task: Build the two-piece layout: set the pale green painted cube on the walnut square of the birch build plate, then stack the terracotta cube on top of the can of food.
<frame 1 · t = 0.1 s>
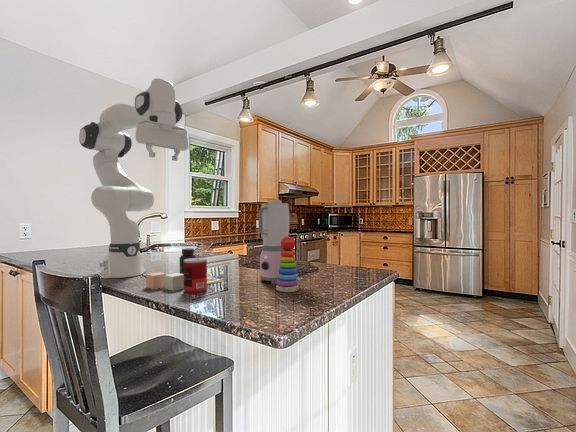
hand: (163, 158, 120), 48 cm above the countertop, tool pointing down, fingers open, 8 cm apart
block a: (156, 287, 115), on the countertop
blender: (273, 282, 124), on the countertop
block b: (174, 288, 113), on the countertop
build plate: (205, 282, 123), on the countertop
canned food: (195, 291, 109), on the countertop
supplement bottle: (188, 277, 133), on the countertop
stacking toy: (287, 290, 109), on the countertop
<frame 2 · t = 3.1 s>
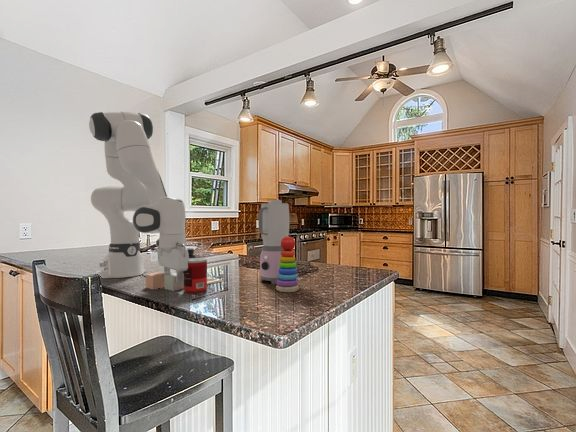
hand: (173, 280, 112), 3 cm above the countertop, tool pointing down, fingers open, 8 cm apart
nothing on the countertop moved.
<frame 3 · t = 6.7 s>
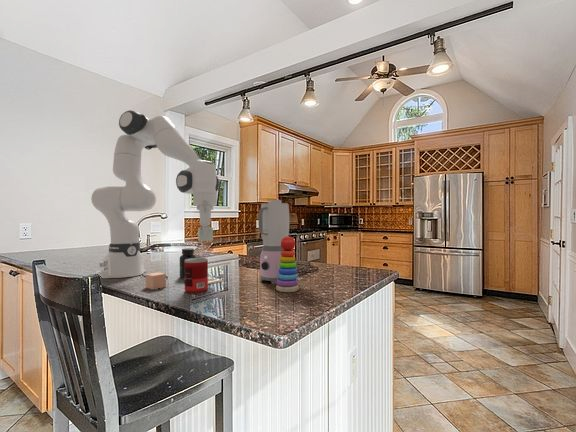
hand: (205, 236, 123), 18 cm above the countertop, tool pointing down, fingers closed on block b, 5 cm apart
block b: (205, 240, 123), point 16 cm above the countertop, touching gripper
everything else where it was.
when the fingers open (3 cm above the countertop, at t = 9.6 s): block b stays where it is, resting on build plate.
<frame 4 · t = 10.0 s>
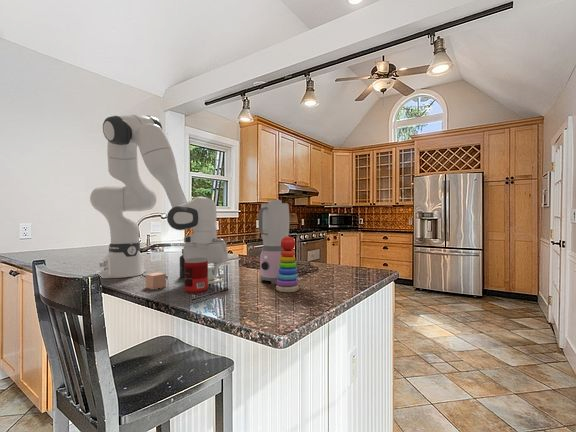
hand: (205, 273, 123), 3 cm above the countertop, tool pointing down, fingers open, 8 cm apart
block b: (205, 279, 123), point 1 cm above the countertop, touching build plate
everything else where it was.
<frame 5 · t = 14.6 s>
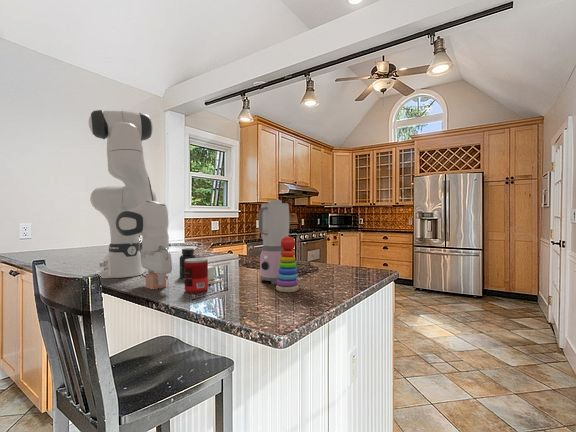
hand: (156, 282, 115), 2 cm above the countertop, tool pointing down, fingers closed on block a, 5 cm apart
block a: (155, 287, 115), on the countertop, touching gripper
everything else where it was.
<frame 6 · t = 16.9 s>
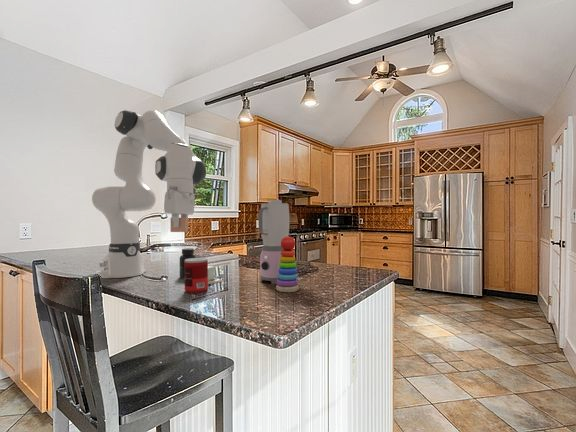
hand: (180, 227, 112), 22 cm above the countertop, tool pointing down, fingers closed on block a, 5 cm apart
block a: (179, 231, 111), point 20 cm above the countertop, touching gripper
everything else where it was.
when the fingers open (14 cm above the countertop, at t = 19.6 s): block a stays where it is, resting on canned food.
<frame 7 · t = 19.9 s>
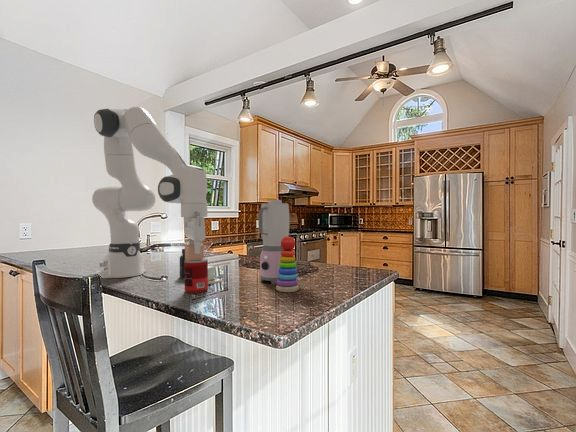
hand: (194, 251, 109), 14 cm above the countertop, tool pointing down, fingers open, 8 cm apart
block a: (194, 259, 109), point 11 cm above the countertop, touching canned food
canned food: (196, 291, 110), on the countertop, touching block a
everything else where it was.
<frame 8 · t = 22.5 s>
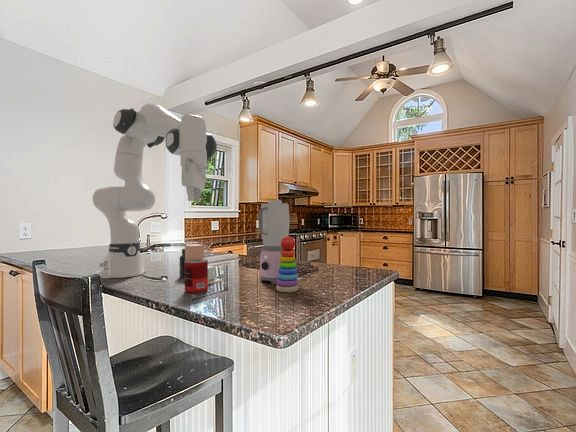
hand: (194, 201, 109), 31 cm above the countertop, tool pointing down, fingers open, 8 cm apart
nothing on the countertop moved.
at the end: block a 0.7 cm off-centre on the canned food, point 11.2 cm above the canned food's base; block a tilted 0°; block b inside the target area on the build plate (0.1 cm from its centre), point 0.9 cm above the build plate's base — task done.
